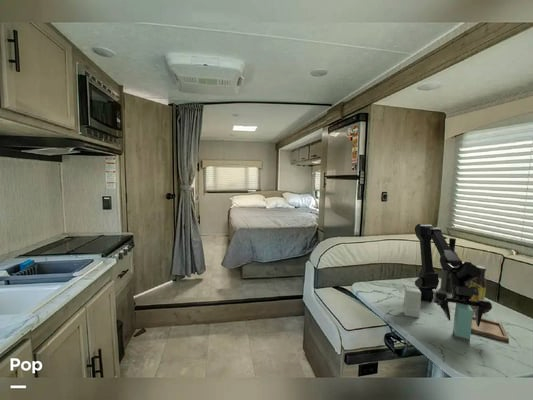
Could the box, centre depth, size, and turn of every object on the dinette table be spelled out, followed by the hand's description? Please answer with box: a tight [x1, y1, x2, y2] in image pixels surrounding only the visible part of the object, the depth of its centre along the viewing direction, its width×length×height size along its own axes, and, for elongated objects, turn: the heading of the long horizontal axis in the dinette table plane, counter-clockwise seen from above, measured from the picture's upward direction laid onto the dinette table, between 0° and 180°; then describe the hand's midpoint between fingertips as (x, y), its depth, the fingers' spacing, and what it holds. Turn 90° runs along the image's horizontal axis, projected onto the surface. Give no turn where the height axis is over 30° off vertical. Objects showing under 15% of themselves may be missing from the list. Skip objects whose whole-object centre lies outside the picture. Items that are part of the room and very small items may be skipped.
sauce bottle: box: [469, 265, 487, 302], centre depth 130 cm, size 6×6×20 cm
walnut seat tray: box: [471, 315, 510, 343], centre depth 110 cm, size 13×13×2 cm
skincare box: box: [403, 286, 422, 319], centre depth 119 cm, size 6×4×12 cm
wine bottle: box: [440, 237, 459, 293], centre depth 145 cm, size 6×6×30 cm
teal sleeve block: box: [452, 303, 474, 343], centre depth 103 cm, size 4×4×13 cm
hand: (463, 323), depth 101 cm, fingers open, 9 cm apart
